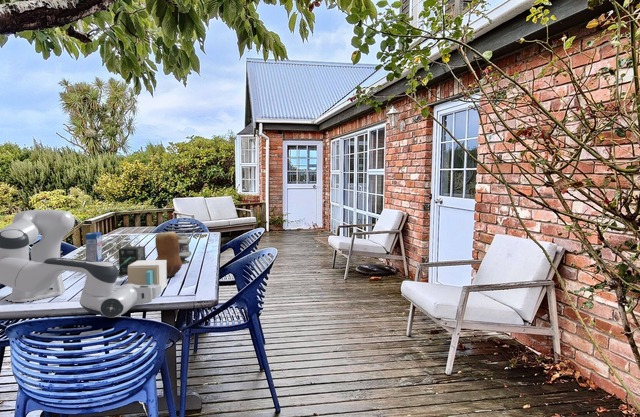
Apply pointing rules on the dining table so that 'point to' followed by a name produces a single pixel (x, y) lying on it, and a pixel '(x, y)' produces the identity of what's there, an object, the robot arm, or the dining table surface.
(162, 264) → the carton
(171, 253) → the butternut squash
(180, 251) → the apothecary jar
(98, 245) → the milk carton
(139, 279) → the flap
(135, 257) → the tampon box
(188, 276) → the dining table surface
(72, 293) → the dining table surface
